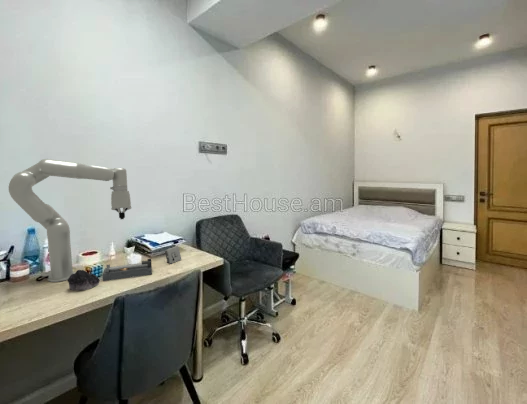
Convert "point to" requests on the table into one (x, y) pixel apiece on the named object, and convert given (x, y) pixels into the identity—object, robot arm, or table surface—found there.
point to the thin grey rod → (129, 265)
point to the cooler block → (127, 272)
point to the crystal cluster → (82, 280)
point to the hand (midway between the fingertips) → (122, 219)
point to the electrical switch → (173, 255)
